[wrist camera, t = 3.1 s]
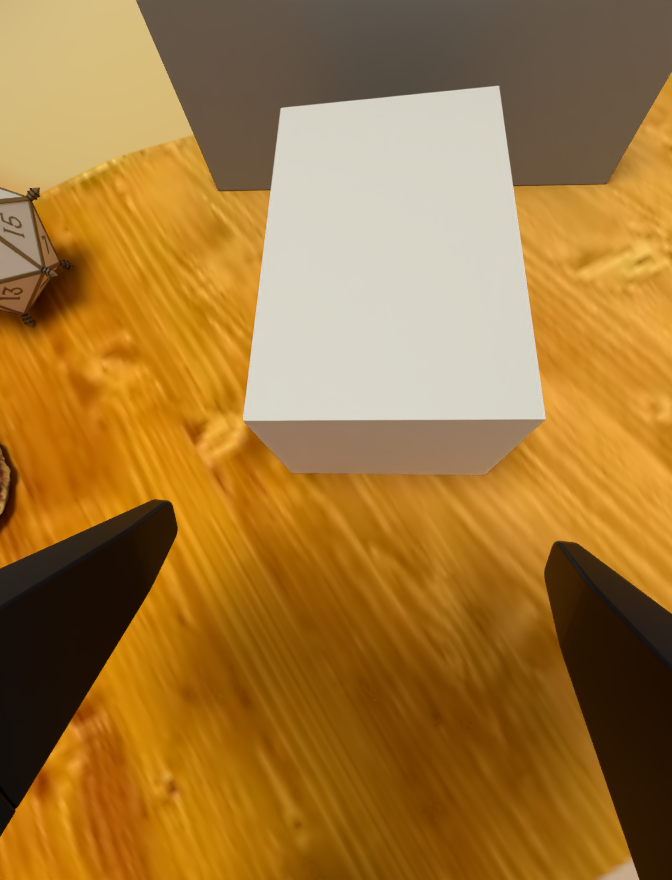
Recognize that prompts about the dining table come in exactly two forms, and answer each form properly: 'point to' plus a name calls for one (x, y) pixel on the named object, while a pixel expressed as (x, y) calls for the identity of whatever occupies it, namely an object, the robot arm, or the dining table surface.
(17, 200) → the game die
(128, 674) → the dining table surface
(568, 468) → the dining table surface
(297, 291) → the white block
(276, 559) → the dining table surface
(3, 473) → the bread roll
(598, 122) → the charcoal board
